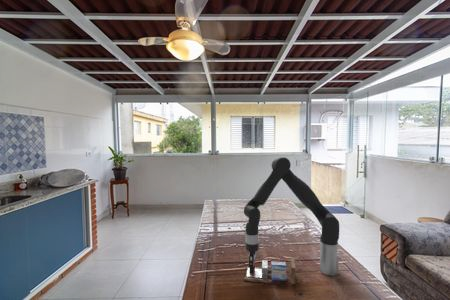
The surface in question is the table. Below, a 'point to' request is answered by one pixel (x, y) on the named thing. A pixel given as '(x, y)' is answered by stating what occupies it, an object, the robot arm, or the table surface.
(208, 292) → the table surface
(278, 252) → the table surface
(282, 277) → the medicine box
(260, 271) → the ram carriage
